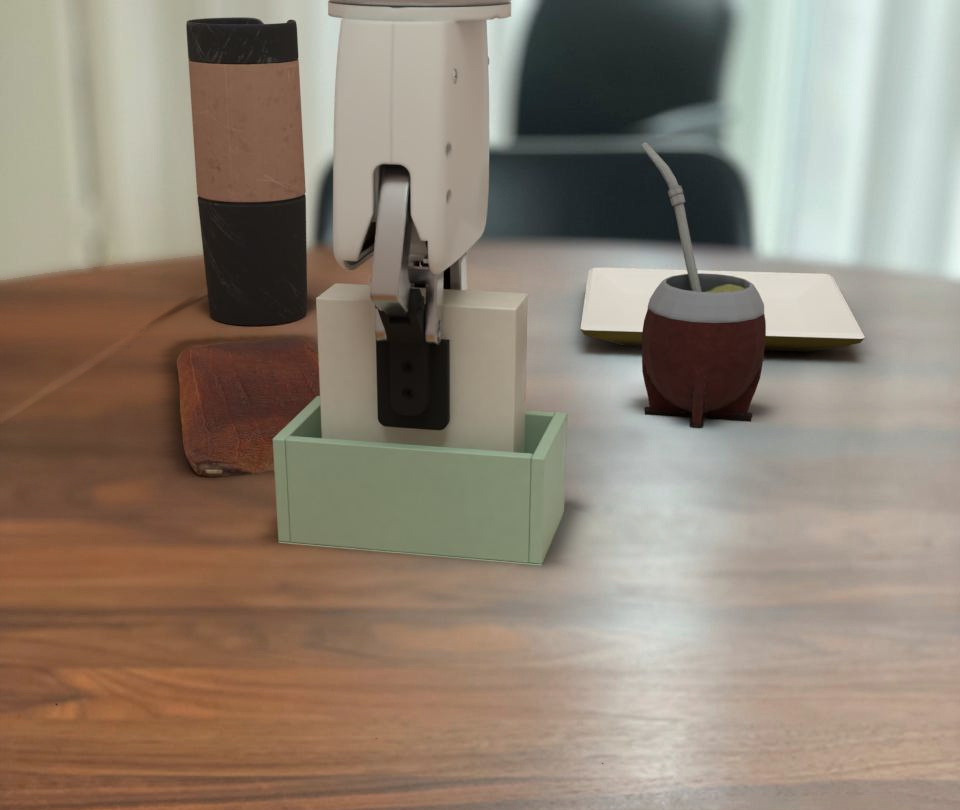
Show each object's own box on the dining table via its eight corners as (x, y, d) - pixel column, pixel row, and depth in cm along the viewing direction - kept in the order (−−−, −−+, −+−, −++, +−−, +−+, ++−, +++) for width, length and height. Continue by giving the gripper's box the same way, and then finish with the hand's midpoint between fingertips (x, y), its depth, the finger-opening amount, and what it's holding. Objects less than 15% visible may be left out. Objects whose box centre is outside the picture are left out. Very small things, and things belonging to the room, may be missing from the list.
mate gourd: (757, 441, 85) (783, 166, 78) (618, 432, 86) (632, 160, 79) (757, 402, 91) (781, 146, 85) (628, 395, 92) (642, 141, 86)
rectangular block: (325, 529, 71) (315, 297, 66) (342, 507, 73) (334, 282, 69) (511, 545, 69) (516, 308, 64) (523, 522, 72) (528, 293, 67)
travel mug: (211, 329, 106) (188, 25, 97) (201, 304, 113) (180, 17, 104) (318, 323, 108) (305, 24, 99) (303, 299, 114) (290, 16, 106)
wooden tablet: (380, 478, 79) (379, 448, 78) (187, 489, 77) (184, 458, 76) (323, 346, 102) (322, 321, 102) (173, 352, 100) (171, 327, 100)
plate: (587, 293, 117) (588, 266, 116) (830, 300, 116) (833, 273, 115) (579, 356, 100) (580, 326, 99) (862, 366, 99) (866, 335, 98)
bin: (278, 551, 70) (272, 438, 67) (321, 501, 76) (316, 395, 73) (541, 574, 67) (544, 458, 65) (563, 520, 73) (567, 412, 71)
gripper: (382, -31, 69) (389, 362, 77) (265, -15, 54) (290, 466, 62) (543, -28, 67) (534, 371, 75) (468, -12, 53) (466, 479, 61)
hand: (423, 410), depth 69 cm, fingers closed on rectangular block, 3 cm apart
